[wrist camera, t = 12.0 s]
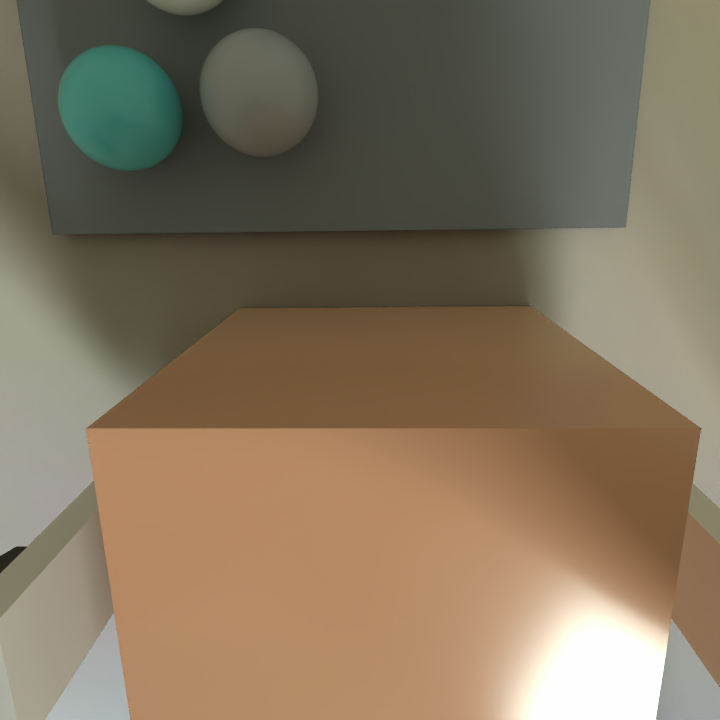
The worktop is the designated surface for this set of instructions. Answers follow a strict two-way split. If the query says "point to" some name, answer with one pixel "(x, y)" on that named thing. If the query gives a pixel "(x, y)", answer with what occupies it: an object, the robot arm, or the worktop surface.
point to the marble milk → (185, 6)
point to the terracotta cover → (392, 521)
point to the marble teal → (120, 108)
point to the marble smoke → (258, 92)
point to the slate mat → (366, 117)
